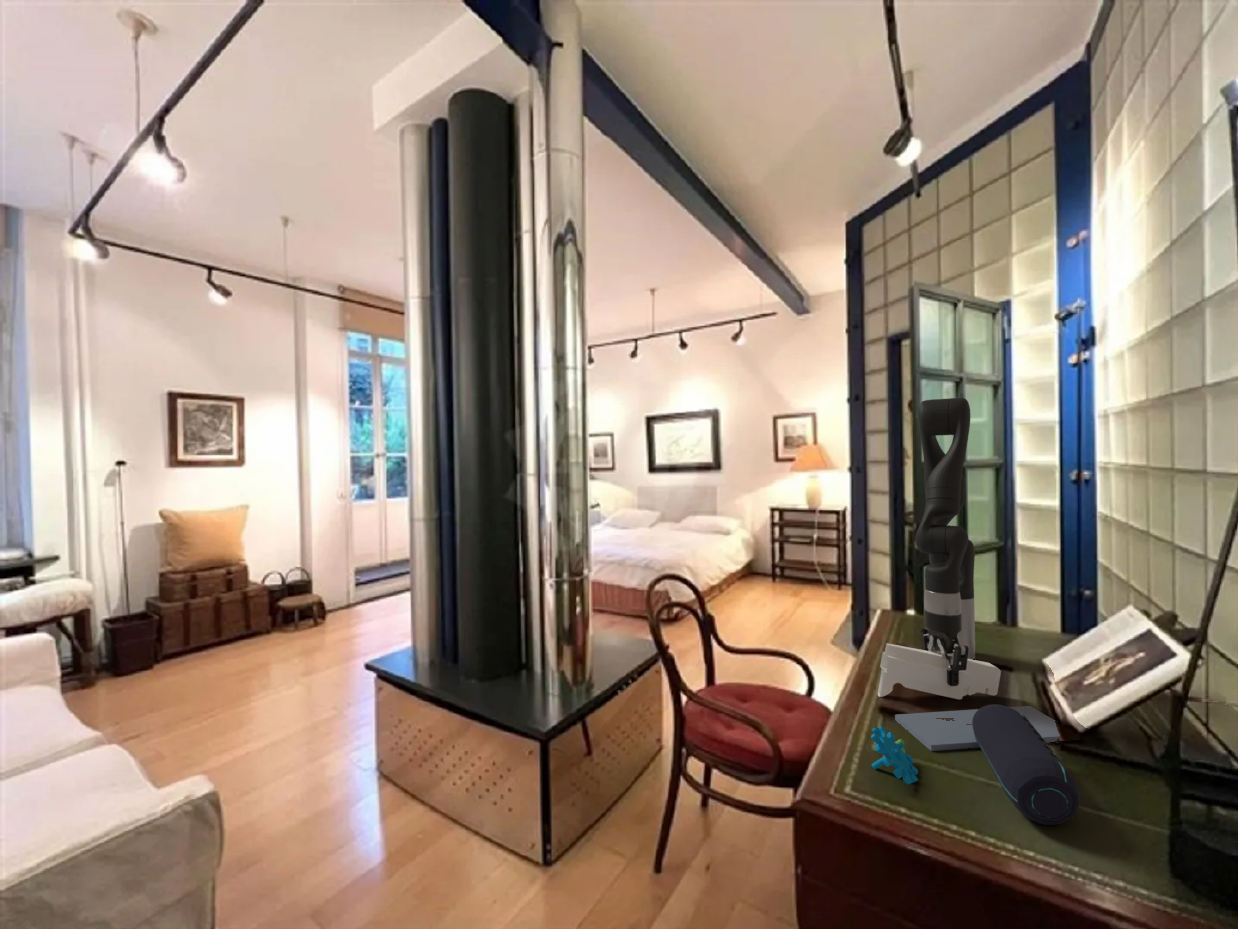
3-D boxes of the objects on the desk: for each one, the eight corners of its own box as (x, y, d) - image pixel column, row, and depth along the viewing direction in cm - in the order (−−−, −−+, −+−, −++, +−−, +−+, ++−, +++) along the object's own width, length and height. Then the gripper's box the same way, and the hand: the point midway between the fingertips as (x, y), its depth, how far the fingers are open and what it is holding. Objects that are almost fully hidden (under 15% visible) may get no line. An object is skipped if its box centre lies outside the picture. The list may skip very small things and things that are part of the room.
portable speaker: (1092, 843, 78) (1091, 778, 78) (1012, 829, 82) (1011, 766, 81) (1027, 751, 102) (1026, 700, 102) (967, 743, 105) (966, 694, 105)
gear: (912, 789, 89) (869, 732, 94) (885, 804, 92) (845, 748, 97) (928, 768, 97) (888, 716, 103) (903, 782, 100) (865, 731, 105)
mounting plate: (895, 720, 115) (895, 714, 115) (1029, 711, 117) (1029, 706, 117) (931, 751, 103) (931, 745, 103) (1080, 740, 105) (1080, 735, 105)
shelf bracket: (874, 691, 129) (883, 640, 129) (981, 713, 126) (990, 662, 126) (883, 700, 123) (892, 647, 123) (995, 724, 121) (1004, 670, 121)
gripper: (980, 617, 117) (981, 692, 117) (937, 600, 132) (938, 666, 132) (948, 619, 117) (949, 694, 117) (908, 601, 131) (909, 668, 131)
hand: (943, 679), depth 124 cm, fingers closed on shelf bracket, 5 cm apart
